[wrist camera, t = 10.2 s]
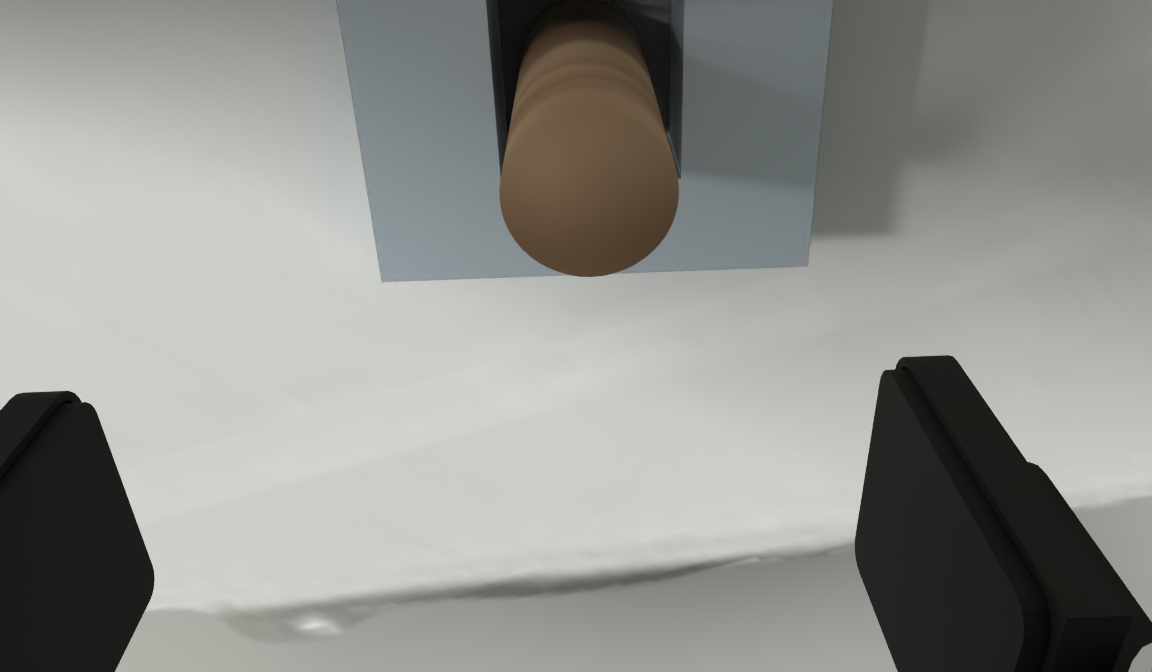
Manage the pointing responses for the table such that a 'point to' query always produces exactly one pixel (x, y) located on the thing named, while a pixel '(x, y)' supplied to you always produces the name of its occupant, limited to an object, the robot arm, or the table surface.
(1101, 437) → the table surface
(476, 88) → the socket deck
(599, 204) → the peg
